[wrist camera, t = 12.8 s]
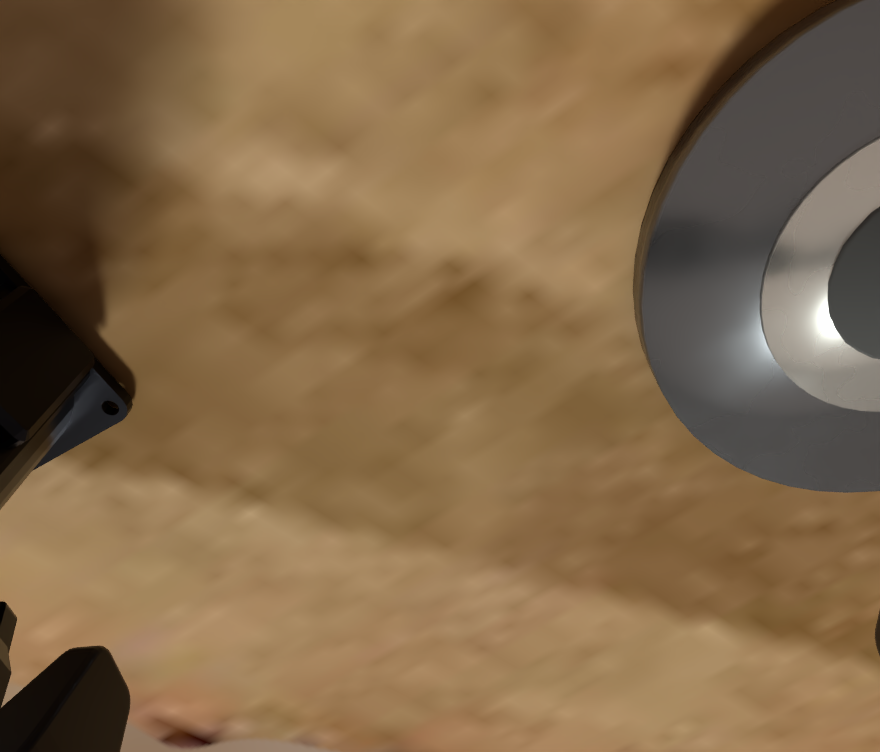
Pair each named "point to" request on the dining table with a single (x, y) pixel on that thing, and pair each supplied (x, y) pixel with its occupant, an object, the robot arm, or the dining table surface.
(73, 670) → the robot arm
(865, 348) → the sundae
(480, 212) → the dining table surface
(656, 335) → the plate
